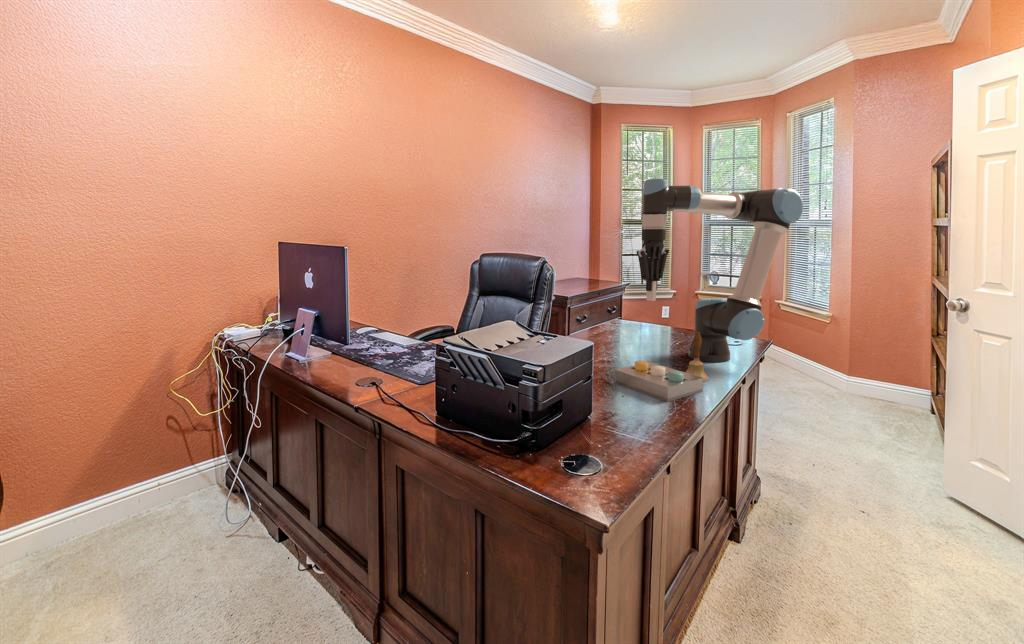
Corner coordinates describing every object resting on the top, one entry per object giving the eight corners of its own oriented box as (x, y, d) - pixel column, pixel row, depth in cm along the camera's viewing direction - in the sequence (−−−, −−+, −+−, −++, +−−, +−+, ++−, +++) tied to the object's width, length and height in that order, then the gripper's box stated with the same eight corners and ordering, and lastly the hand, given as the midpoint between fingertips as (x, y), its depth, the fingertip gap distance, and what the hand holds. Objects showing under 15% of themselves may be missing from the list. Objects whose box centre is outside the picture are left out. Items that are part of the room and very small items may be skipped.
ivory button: (657, 378, 166) (657, 364, 165) (668, 381, 162) (668, 368, 161) (647, 380, 163) (647, 367, 162) (658, 384, 159) (658, 370, 158)
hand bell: (710, 382, 167) (713, 335, 164) (684, 381, 169) (686, 334, 166) (706, 374, 175) (708, 329, 172) (680, 373, 177) (683, 329, 174)
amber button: (640, 373, 171) (641, 360, 171) (651, 376, 168) (651, 363, 167) (631, 375, 169) (631, 362, 168) (641, 378, 165) (642, 365, 164)
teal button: (674, 383, 160) (674, 369, 159) (686, 387, 156) (687, 373, 155) (664, 386, 157) (664, 372, 156) (676, 390, 154) (676, 376, 153)
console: (648, 374, 176) (649, 362, 175) (702, 391, 158) (703, 377, 157) (614, 382, 168) (615, 369, 167) (667, 402, 150) (668, 387, 149)
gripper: (658, 227, 171) (655, 297, 175) (630, 228, 164) (628, 300, 168) (676, 228, 164) (673, 300, 169) (648, 228, 158) (645, 303, 162)
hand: (651, 300), depth 169 cm, fingers closed
